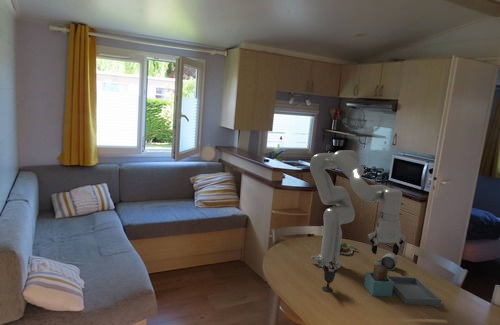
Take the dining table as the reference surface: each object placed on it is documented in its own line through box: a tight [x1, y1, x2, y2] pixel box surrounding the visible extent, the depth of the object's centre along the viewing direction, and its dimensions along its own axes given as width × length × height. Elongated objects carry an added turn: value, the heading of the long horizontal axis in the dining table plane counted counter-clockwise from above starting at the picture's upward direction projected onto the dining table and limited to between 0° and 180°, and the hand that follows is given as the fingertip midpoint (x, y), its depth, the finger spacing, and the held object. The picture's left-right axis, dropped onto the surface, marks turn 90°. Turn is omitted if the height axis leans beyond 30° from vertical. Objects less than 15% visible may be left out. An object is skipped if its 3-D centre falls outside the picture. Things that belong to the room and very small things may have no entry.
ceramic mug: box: [374, 252, 398, 272], centre depth 186 cm, size 11×8×8 cm
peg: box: [372, 264, 389, 281], centre depth 158 cm, size 4×4×12 cm
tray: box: [387, 275, 442, 308], centre depth 160 cm, size 16×20×4 cm
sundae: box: [321, 258, 339, 293], centre depth 157 cm, size 7×7×15 cm
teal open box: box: [363, 271, 394, 297], centre depth 158 cm, size 9×9×8 cm
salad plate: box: [339, 241, 359, 256], centre depth 205 cm, size 19×18×5 cm
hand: (384, 253), depth 155 cm, fingers open, 9 cm apart
